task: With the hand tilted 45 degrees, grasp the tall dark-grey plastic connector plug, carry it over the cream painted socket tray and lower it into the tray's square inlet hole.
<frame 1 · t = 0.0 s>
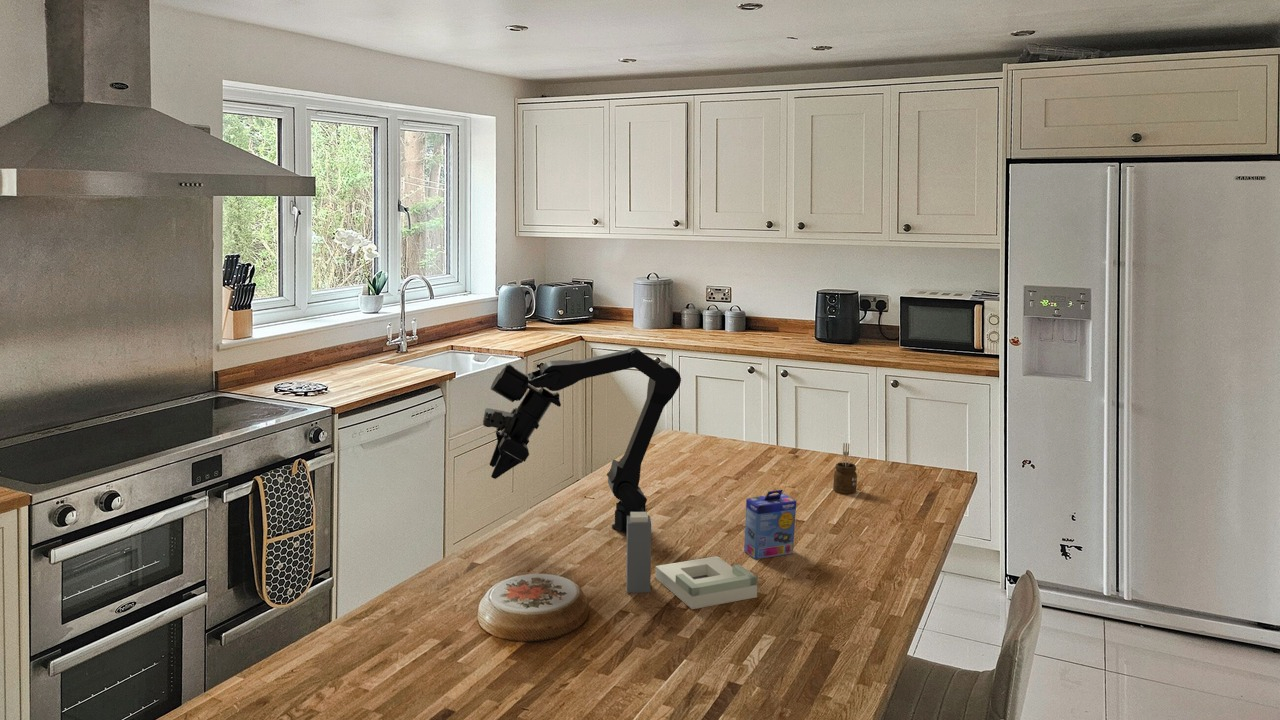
hand: (492, 471, 215), 15 cm above the kitchen island, tool tilted 35°, fingers open, 9 cm apart
socket box: (700, 583, 193), on the kitchen island
utensil holder: (844, 491, 253), on the kitchen island
plug: (638, 587, 190), on the kitchen island
ink cartridge box: (768, 553, 209), on the kitchen island
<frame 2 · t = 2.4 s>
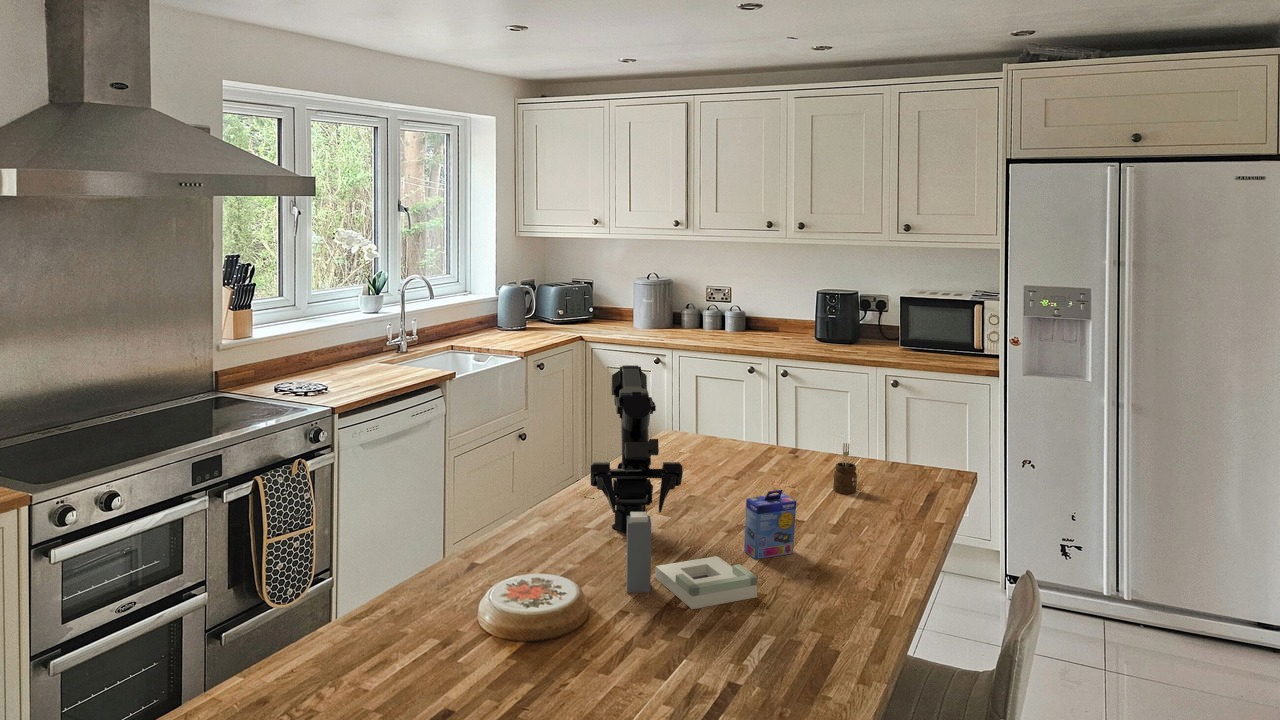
hand: (637, 511, 195), 13 cm above the kitchen island, tool tilted 45°, fingers open, 9 cm apart
nothing on the kitchen island moved.
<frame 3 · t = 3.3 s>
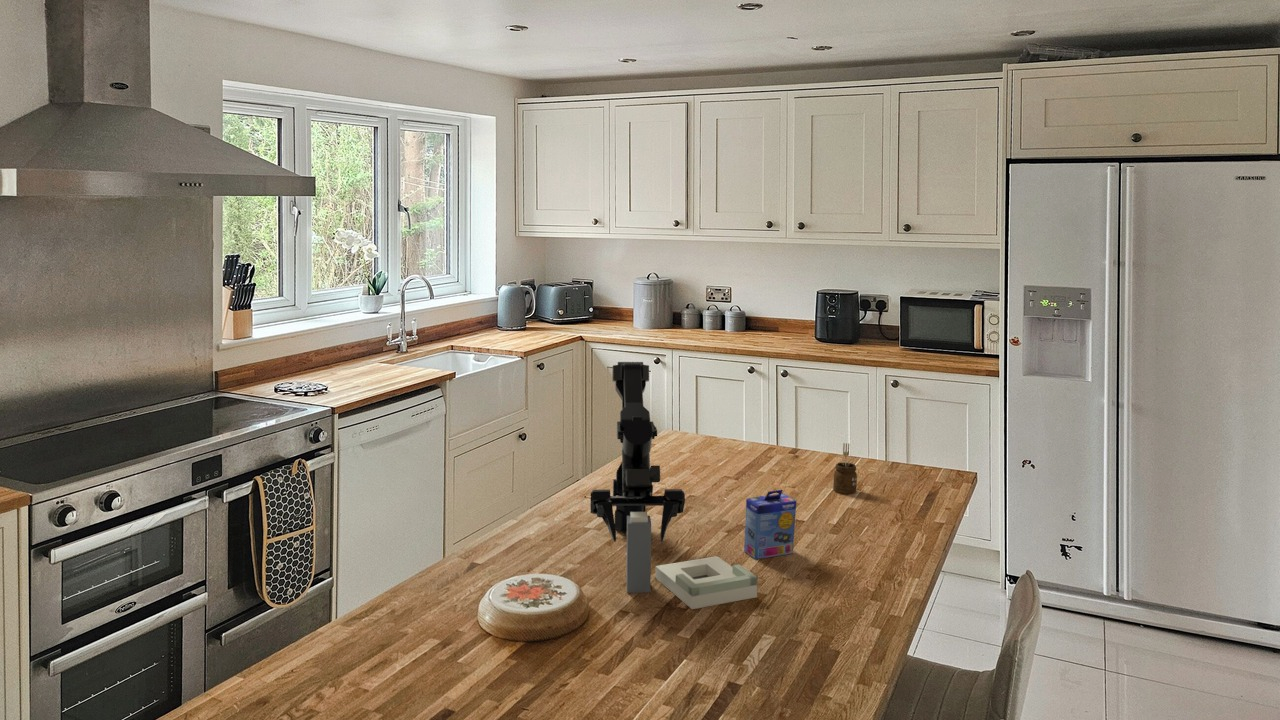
hand: (638, 540, 189), 9 cm above the kitchen island, tool tilted 45°, fingers open, 9 cm apart
nothing on the kitchen island moved.
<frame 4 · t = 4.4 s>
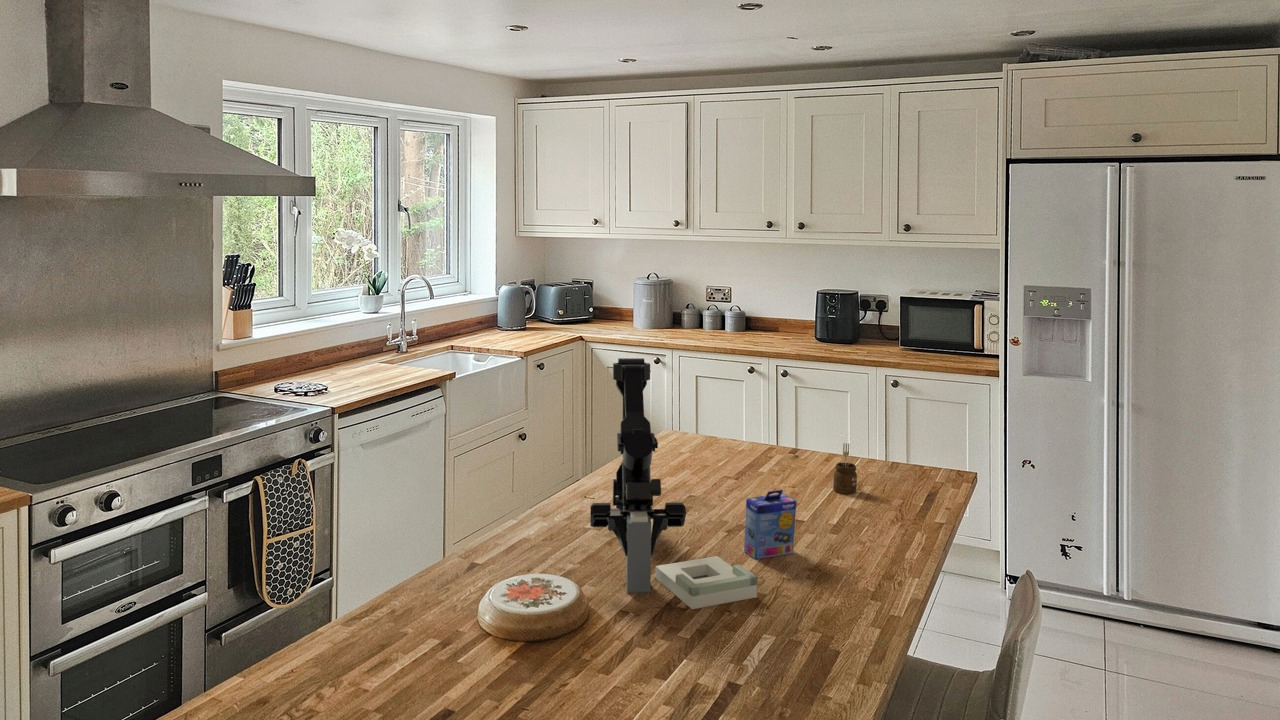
hand: (638, 555, 187), 7 cm above the kitchen island, tool tilted 45°, fingers closed on plug, 4 cm apart
plug: (638, 587, 190), on the kitchen island, touching gripper
everything else where it was.
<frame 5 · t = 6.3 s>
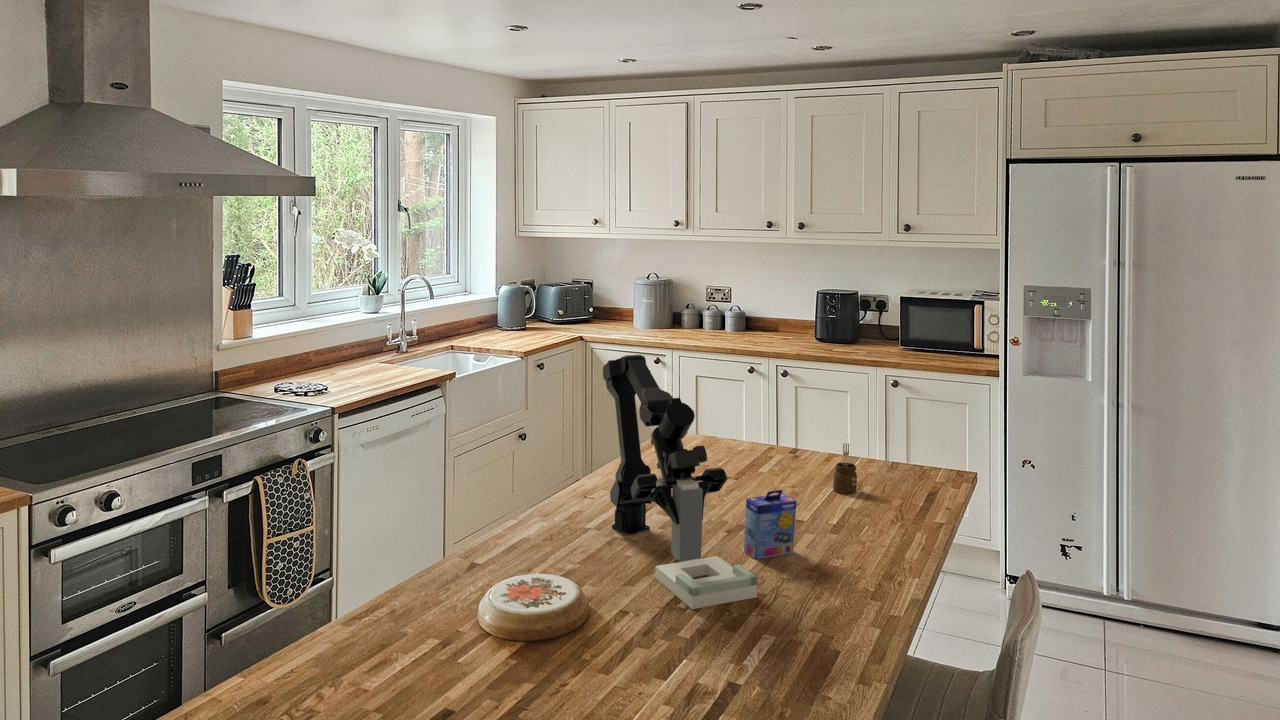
hand: (689, 522, 188), 13 cm above the kitchen island, tool tilted 45°, fingers closed on plug, 4 cm apart
plug: (686, 555, 190), point 6 cm above the kitchen island, touching gripper
everything else where it was.
when the fingers open (9 cm above the kitchen island, at t = 7.9 s): plug drops 1 cm, resting on socket box.
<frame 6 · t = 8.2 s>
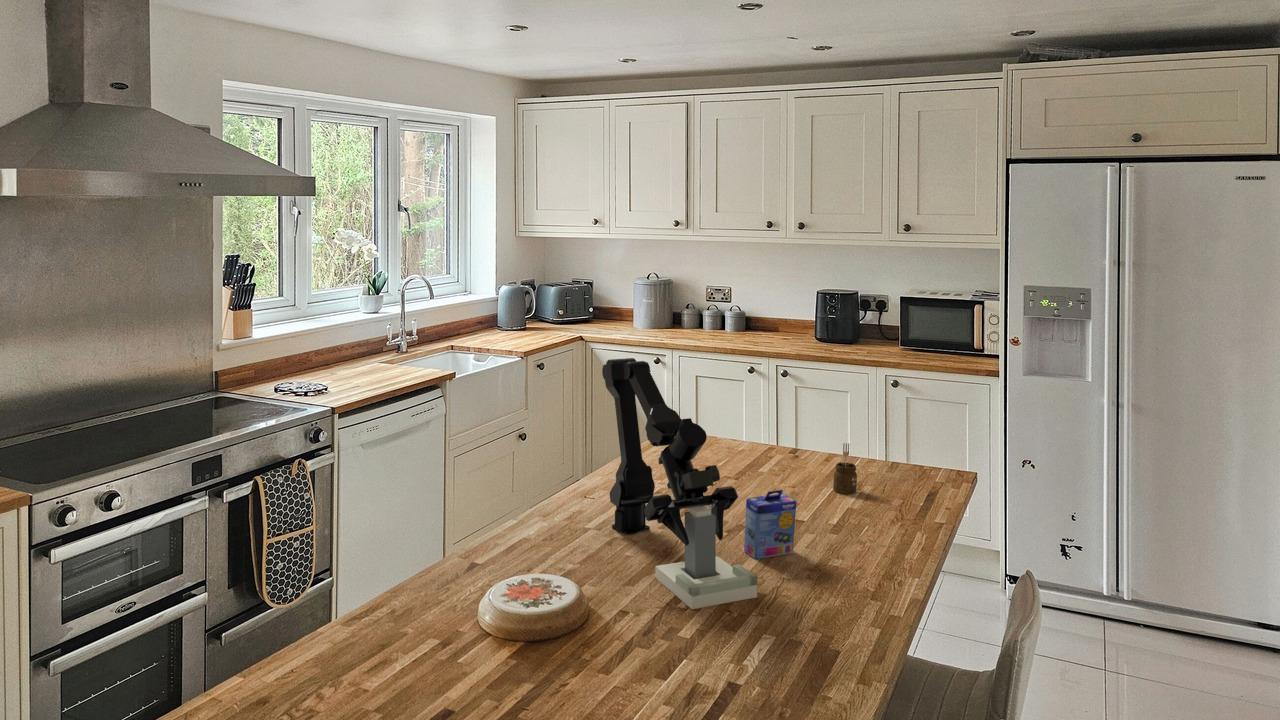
hand: (704, 541, 190), 9 cm above the kitchen island, tool tilted 45°, fingers open, 7 cm apart
plug: (700, 582, 192), resting on socket box
everything else where it was.
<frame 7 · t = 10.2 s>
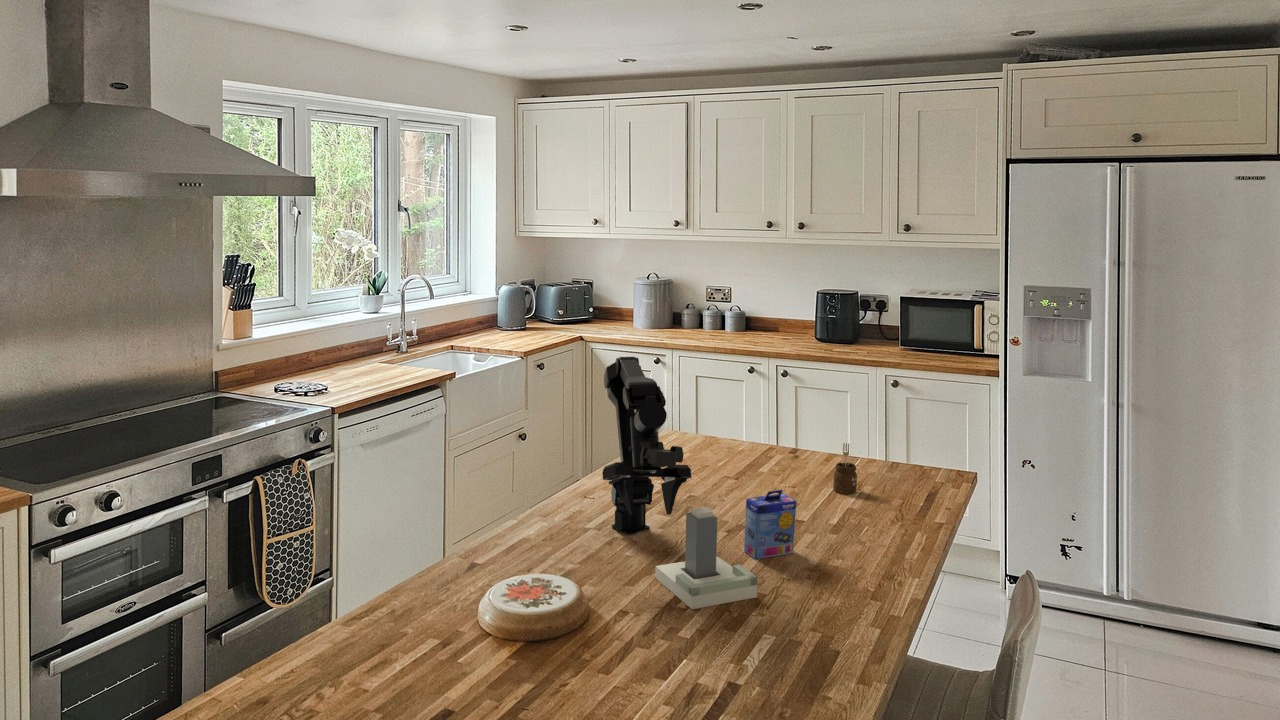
hand: (650, 514, 199), 11 cm above the kitchen island, tool tilted 25°, fingers open, 9 cm apart
nothing on the kitchen island moved.
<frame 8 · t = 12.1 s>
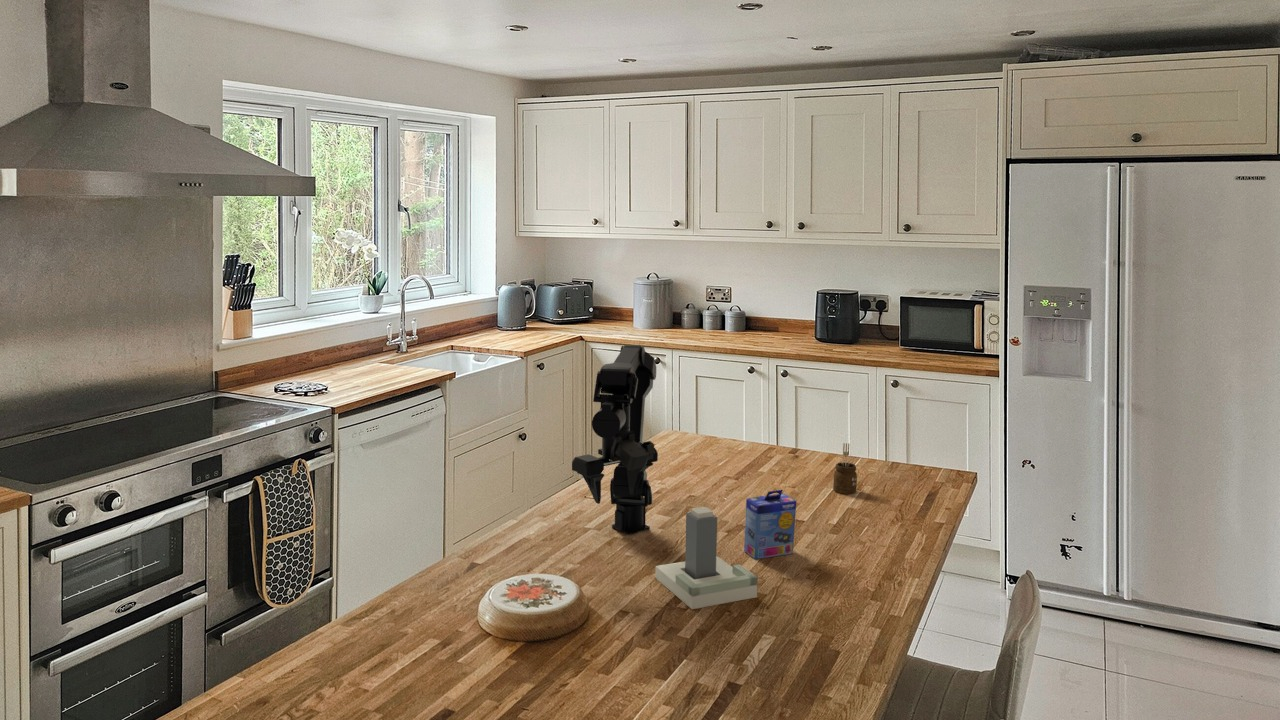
hand: (615, 499, 203), 13 cm above the kitchen island, tool pointing down, fingers open, 9 cm apart
nothing on the kitchen island moved.
at the end: plug 0.0 cm off-centre on the socket box, point 0.2 cm above the socket box's base; plug tilted 0°; the gripper is holding nothing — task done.
